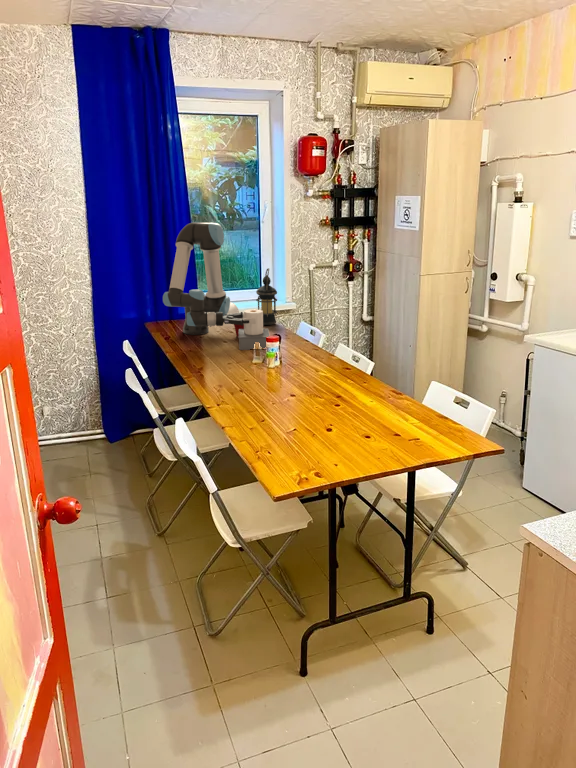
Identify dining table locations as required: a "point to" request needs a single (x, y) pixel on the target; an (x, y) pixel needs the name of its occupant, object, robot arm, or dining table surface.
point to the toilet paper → (254, 328)
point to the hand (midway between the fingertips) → (255, 318)
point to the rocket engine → (233, 309)
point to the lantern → (267, 300)
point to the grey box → (252, 339)
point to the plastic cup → (238, 328)
